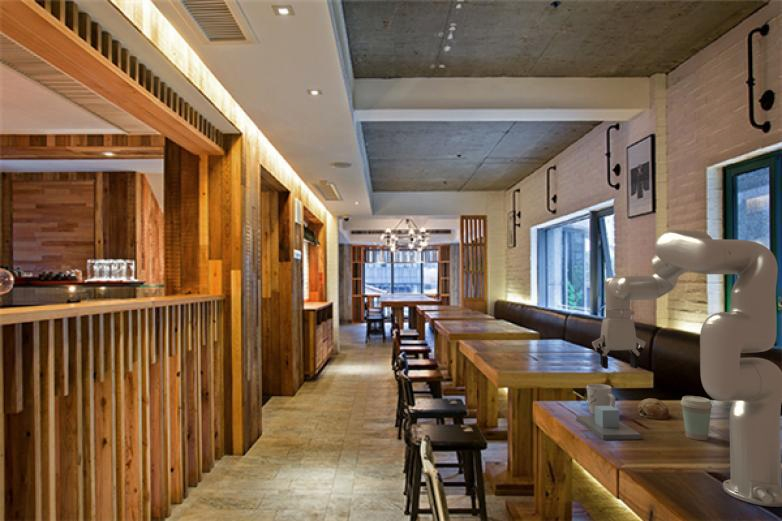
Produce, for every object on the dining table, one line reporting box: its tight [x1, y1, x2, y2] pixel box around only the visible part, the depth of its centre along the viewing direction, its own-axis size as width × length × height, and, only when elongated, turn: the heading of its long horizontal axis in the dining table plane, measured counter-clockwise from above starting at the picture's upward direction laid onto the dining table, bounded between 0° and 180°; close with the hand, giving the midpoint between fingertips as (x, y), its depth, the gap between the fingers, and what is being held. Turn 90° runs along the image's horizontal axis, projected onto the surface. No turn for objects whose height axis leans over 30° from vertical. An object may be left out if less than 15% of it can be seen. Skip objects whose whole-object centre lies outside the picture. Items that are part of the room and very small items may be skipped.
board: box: [576, 415, 642, 441], centre depth 163 cm, size 20×12×2 cm, turn 2°
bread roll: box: [637, 397, 670, 420], centre depth 179 cm, size 10×10×8 cm
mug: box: [586, 383, 616, 416], centre depth 180 cm, size 11×8×10 cm
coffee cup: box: [680, 395, 713, 441], centre depth 155 cm, size 8×8×12 cm
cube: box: [594, 406, 620, 428], centre depth 163 cm, size 6×6×6 cm
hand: (619, 367), depth 160 cm, fingers open, 9 cm apart
